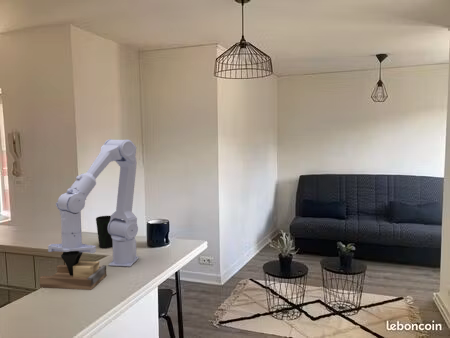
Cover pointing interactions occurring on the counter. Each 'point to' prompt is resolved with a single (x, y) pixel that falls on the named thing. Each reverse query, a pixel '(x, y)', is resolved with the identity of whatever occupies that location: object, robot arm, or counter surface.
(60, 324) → the counter surface
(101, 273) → the bay
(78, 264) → the box
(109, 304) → the counter surface
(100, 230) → the cup
